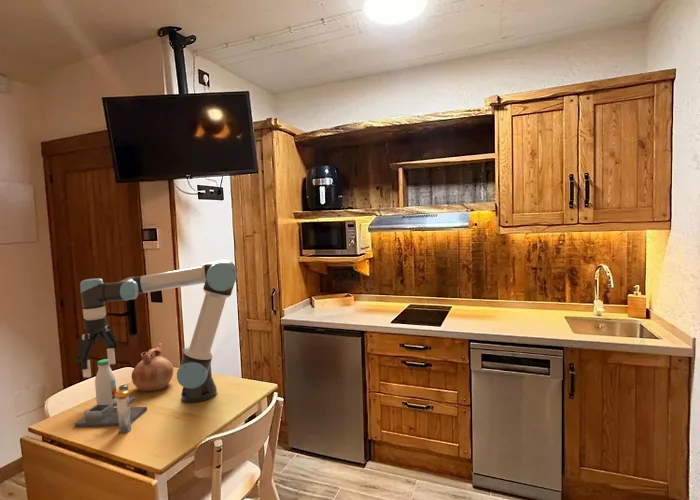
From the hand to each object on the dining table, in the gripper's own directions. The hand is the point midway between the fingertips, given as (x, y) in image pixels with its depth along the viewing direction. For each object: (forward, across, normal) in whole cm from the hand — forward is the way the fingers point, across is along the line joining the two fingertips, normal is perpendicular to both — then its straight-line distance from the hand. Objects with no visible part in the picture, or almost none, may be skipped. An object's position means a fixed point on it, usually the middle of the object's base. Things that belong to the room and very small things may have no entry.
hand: (100, 370), depth 155 cm
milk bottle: (+22, -16, -11) cm, 29 cm away
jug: (+22, -33, 0) cm, 40 cm away
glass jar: (+22, +6, +13) cm, 26 cm away
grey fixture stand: (+22, -3, 0) cm, 22 cm away
